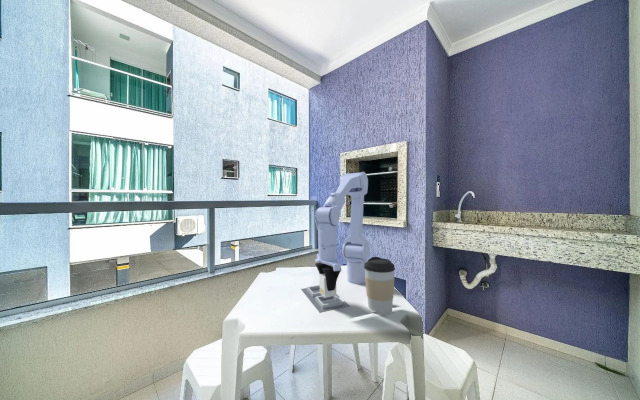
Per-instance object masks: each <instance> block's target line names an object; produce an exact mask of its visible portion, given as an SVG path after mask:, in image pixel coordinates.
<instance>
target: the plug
mask: <svg viewBox="0 0 640 400" xmlns="http://www.w3.org/2000/svg"><path fill="white" fill-rule="evenodd" d="M319 285H320V294H321V295H322V296H323V297H324V298H326V297H331V296H336V294H337V285H336V286H335V290H332V291H328V289H327V284H326V277H325V274H319Z"/></svg>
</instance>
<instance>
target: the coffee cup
mask: <svg viewBox="0 0 640 400" xmlns="http://www.w3.org/2000/svg"><path fill="white" fill-rule="evenodd" d="M364 268H365V281H366V283H365V289H366V290H365V291H366V296H367V307H368V308H369V310H371V311H373V312H372V314H375V315H378V316H387V315H390V314H391V313H392V312H393V300H394V295H395V294H394V293H395V292H394V291H395V290H394V289H395V270H396V267H395V264H394V263H393V262H392V261H391V260H390V259H387V258H381V257H379V256H372V257H371V258H370V257H369V258H368V261H367V262H366V263H365V264H364Z"/></svg>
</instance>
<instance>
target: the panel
mask: <svg viewBox="0 0 640 400" xmlns="http://www.w3.org/2000/svg"><path fill="white" fill-rule="evenodd" d="M300 290H301V291H302V293H303V294H304V295H305V296H306V297H307V299H308V300H309V302H311V304H312V305H313V306H314V307H315V308H316V310H317V311H318V313H319V314H321V313H325V312H326V313H327V312H329V311H333V310H334V311H335V310H339V309H344V308H347V307H351V305H350V304H349V303H348V302H346V301H345V300H344V299H343V298H342V297H340V296H339V295H338V293H336V296H331V297H326V298H324V297H323V296H322V295H321V294H320V284H318V285H312V286H311V285H310V286H307V287H304V288H300Z"/></svg>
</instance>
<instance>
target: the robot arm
mask: <svg viewBox="0 0 640 400" xmlns="http://www.w3.org/2000/svg"><path fill="white" fill-rule="evenodd" d="M368 187H369V179H368V176H367V173H366V172H365V171H362V172H353V173H351V172H350V173H342V174H341V176H339V185H338V188H337V190H336V191H335V192H331V193H330V196H328V197H327V200H326V201H325V202H324V204H323V205H322V206H320V207H318V208H317V209H316V210H315V212H314V216H313V219H314V222H315V226H316V231H318V232H317V235H318V237H317V239H318V253H316V258H315V259H314V261H315V266H316V269H317V271H318V274H319V275H320V274H325V277H326V284H327V289H328V291H332V290H335V286H336V287H337V281H338V278H339V275H340V273H341V271H342V268H341V267H342V264H341V262H339V260H338V256H337V255H338V254H337V251H338V250H337V225H338V223H339V221H340V217H341V216H340V215H341V211H342V209H343V207H344V205H345V204H346V196H350V197H351V203H350V204H351V207H350V208H351V209H350V226H349V236H347V237H346V238H345V239H344V240H343V245H342V248H341V249H342V250H341V252H342V256H343V258H344V259H345V261H346V266H347V267H346V269H347V271H346V273H347V274H346V275H347V276H346V277H347V282H348V283H350V284H351V285H352V284H353V285H354V284H355V285H362V284H366V281H365V268H364V264H365V263H366V262H367V261H368V260H369V259H370V242H369V241H368V239H366V238H365V237H364V236H363V224H364V223H363V222H364V221H363V220H364V201H365V196H366V195H367V194H368V189H369V188H368Z"/></svg>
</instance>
